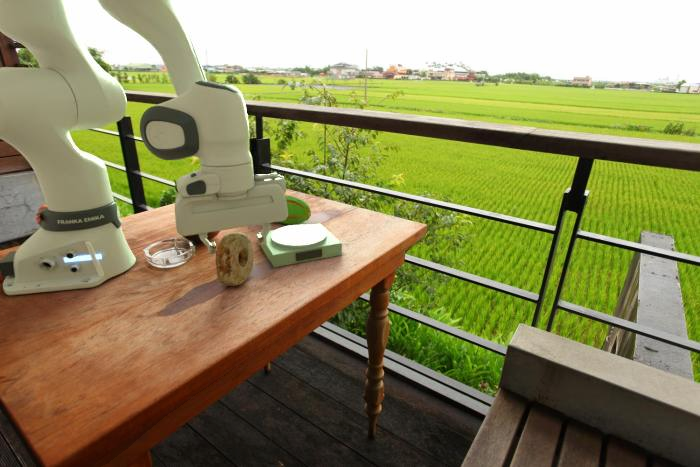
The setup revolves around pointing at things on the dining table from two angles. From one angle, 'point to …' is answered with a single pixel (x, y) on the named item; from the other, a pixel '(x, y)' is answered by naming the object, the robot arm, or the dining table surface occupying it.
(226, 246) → the stone disc
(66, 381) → the dining table surface
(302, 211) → the corn
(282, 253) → the scale
